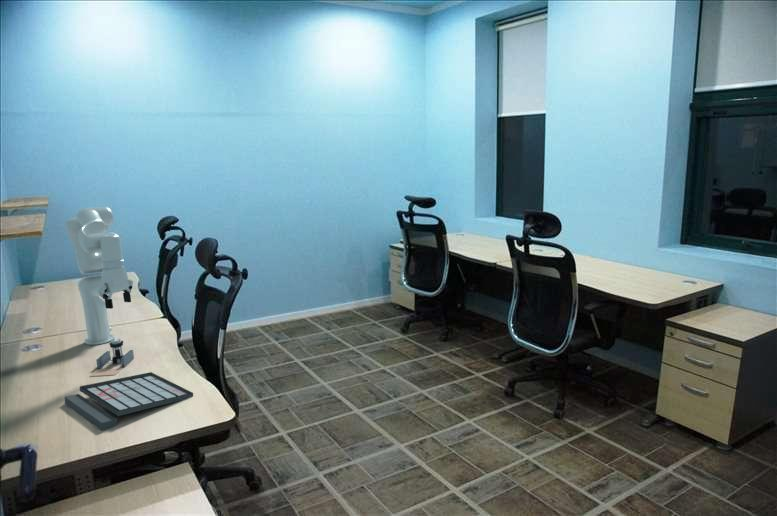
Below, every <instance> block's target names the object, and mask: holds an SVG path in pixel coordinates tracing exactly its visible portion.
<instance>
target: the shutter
mask: <svg viewBox="0 0 777 516" xmlns="http://www.w3.org/2000/svg"><path fill="white" fill-rule="evenodd" d="M79 392H81V393H82V394H84V395H86V397H88V398H90V399H92V400H93V401H94V402H95V403H97V404H99V405H100V406H102V407H103V408H105V409H107V410H108V411H110V412H111V413H113V414H114V415H116V417H117V416H118V417H120V416H124V415H127V414H132V413H136V412H140V411H143V410H149V409H152V408H155V407H160V406H165V405H168V404H172V403H176V402H179V401H184V400H186V399H188V398H191V397H194V392H192V391H190V390H188V389H186V388H184V387H183V386H180V385H178V384H176V383H174V382H172V381H170V380H169V379H165V378H164V377H162V376H159V375H158V374H156V373H154V372H151V371H150V372H145V373H140V374H135V375H130V376H126V377H120V378H114V379H111V380H110V379H109V380H105V381H100V382H95V383H90V384H86V385H85V384H84V385H79ZM86 397H84V396H83V395H81V394H79V393H76V394H71V395H66V396H64V405H65V406H66V407H68V408H70V409H71V410H73V412H75V413H77V414H78V415H79V416H80V417H82V419H85V420H86V421H88V422H89V423H90V424H91V425H93V426H94V427H96V428H97V429H98V430H100V431H101V432H103V431H106V430H109V429H111V428H113V427H115V426H117V422H118V421H117V418H116V417H114V416H112V415H111V414H109V413H108V412H107V411H105V410H104V409H102V408H101V407H99V406H98V405H96V404H94V402H92V401H90V400H89V399H87V398H86Z"/></svg>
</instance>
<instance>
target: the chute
mask: <svg viewBox="0 0 777 516" xmlns="http://www.w3.org/2000/svg"><path fill="white" fill-rule="evenodd" d="M123 355H124V356H123V357H122V358H121V363H120V364H121V368H122V369H123V368H126V367H127V366H128V365H129V364H130V363H131V362H132V361H133V360H134V359H135V355H134V349H130V350H129V351H127V352H126V353H125V354H123ZM110 360H112V357H111V350H108V351H107V350H106V352H104V353H103V354H102V355H101V356H99V357H98V358H97V359H96V360H95V361H96V368H97V369H96V370H99V369H102V368H103V367H104V366H105V365H107V364H108V363H110V362H111V361H110Z"/></svg>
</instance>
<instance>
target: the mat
mask: <svg viewBox="0 0 777 516" xmlns="http://www.w3.org/2000/svg"><path fill="white" fill-rule="evenodd" d="M122 369H123V368H122V367H120V368H119V367H117V368H103V369H102V368H101V369H96V370H94V372H93V373H91V374H90V375H89V377H90V378H91V377H92V378H93V377H105V376H106V377H109V376H116V375H117V374H118V373H120V371H122Z"/></svg>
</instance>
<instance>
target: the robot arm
mask: <svg viewBox="0 0 777 516" xmlns="http://www.w3.org/2000/svg"><path fill="white" fill-rule="evenodd" d="M114 217H115V216H114V213H113V210H111V208H109V207H107V206H97V207H96V206H95V207H85V208H82V209H80V210H78V211H77V214H76V217H71V218H68V219H67V220H66V221H65V224H64V228H65V231H66V235H67V237H68V239H69V240H70V242H71V243H72V245H73V249H74V253H75V258H76V259H75V260H76V263H77V268H78V270H79V272H80V273H81V274H82V275H90V274H91V275H92V274H98V273H101V275H93V276H86V277H83V278H82V279H79V281H78V284H77V287H78V292H79V294H80V299H81V302H82V308H83V313H84V322H85V328H86V333H87V334H86V335H87V338H86V339H84V344H85V345H88V346H97V345H102V344H106V343H111V341H112V340H114V339H115V336H114V334H111V331H113V328H112V327H111V326H110V324H109V317H108V316H109V315H108V309H113V308H114V304H113V303H114V302H113V299H112V296H113V294H116V293H119V292H123V293H122V295H123V302H124V303H132V298H131V297H132V295H131V293H132V289H133V284H134V280H131V279H129V277H128V273H127V269H126V267H125V265H124V263H125V260H124V257H123V250H122V249H123V248H122V241H121V236H120V235H118V234H117V233H116V232H112V231H111V232H108V231H109V230H110V228H111V227H112V225H113V224H114V221H115V218H114ZM100 297H101V298H102V299H101V298H100Z"/></svg>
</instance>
